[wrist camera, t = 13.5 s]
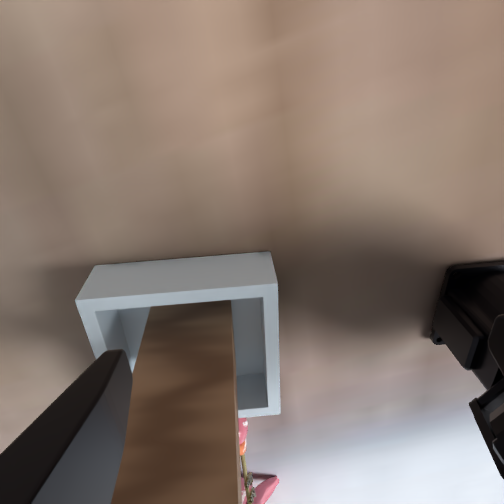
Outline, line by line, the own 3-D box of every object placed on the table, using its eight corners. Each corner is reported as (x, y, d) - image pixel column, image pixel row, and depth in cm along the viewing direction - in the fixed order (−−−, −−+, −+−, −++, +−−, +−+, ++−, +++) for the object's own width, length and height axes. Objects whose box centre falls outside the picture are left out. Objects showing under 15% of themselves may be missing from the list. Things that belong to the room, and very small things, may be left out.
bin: (270, 251, 23) (277, 283, 19) (274, 373, 28) (280, 414, 25) (94, 265, 22) (74, 300, 19) (132, 386, 27) (120, 429, 24)
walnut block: (230, 298, 23) (239, 537, 12) (235, 356, 26) (246, 599, 14) (151, 304, 23) (83, 552, 12) (163, 362, 26) (117, 613, 14)
